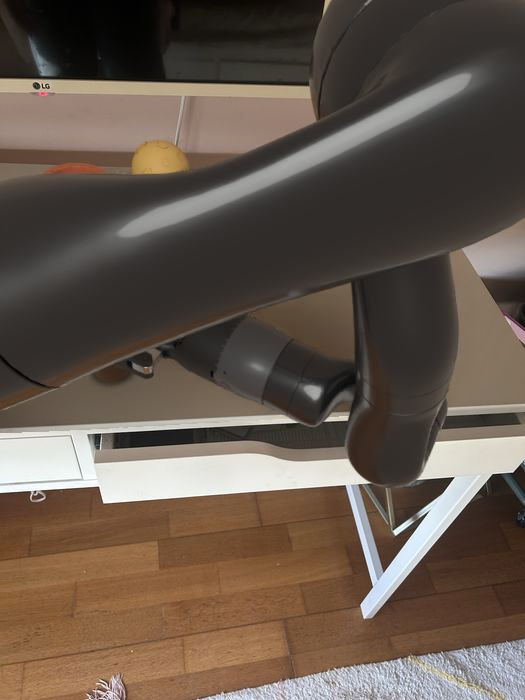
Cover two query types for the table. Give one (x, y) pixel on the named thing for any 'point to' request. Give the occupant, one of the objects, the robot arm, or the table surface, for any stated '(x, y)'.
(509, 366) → the table surface
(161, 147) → the stress ball
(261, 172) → the robot arm
